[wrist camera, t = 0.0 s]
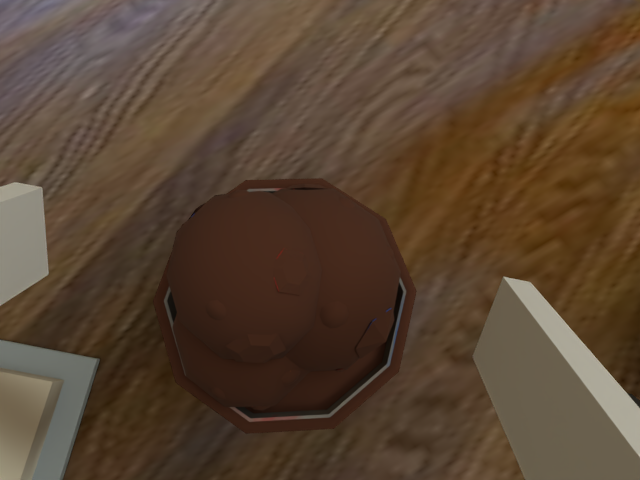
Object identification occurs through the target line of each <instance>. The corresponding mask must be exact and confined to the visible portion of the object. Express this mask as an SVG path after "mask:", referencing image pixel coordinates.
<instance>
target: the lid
mask: <svg viewBox="0 0 640 480" xmlns="http://www.w3.org/2000/svg"><path fill="white" fill-rule="evenodd" d="M63 383H64V380H61V379H56V378H51V377H46V376H41V375H36V374H31V373H26V372H21V371H15V370H10V369H5V368H0V480H32V478H33V475H34V472H35V469H36V466H37V462H38V459H39V456H40V453H41V450H42V447H43V444H44V441H45V438H46V435H47V432H48V429H49V426H50V423H51V420H52V416H53V413H54V410H55V407H56V404H57V401H58V398H59V395H60V392H61V389H62V386H63Z"/></svg>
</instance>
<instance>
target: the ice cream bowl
mask: <svg viewBox="0 0 640 480" xmlns="http://www.w3.org/2000/svg"><path fill="white" fill-rule="evenodd" d="M415 295H416V289H415V287H414V284H413V282H412V279H411V277H410V275H409V272H408V270H407V268H406V265H405V263H404V261H403V258H402V256H401V254H400V251H399V249H398V247H397V244H396V242H395V239H394V237H393V235H392V232H391V230H390V228H389V225H388V223H387V221H386V219H385V218H383V217H382V216H380V215H379V214H377V213H375V212H374V211H372V210H371V209H369V208H368V207H366V206H364V205H363V204H361V203H360V202H358V201H357V200H355V199H353V198H352V197H350V196H349V195H347V194H346V193H344V192H342V191H341V190H339V189H338V188H336V187H335V186H333V185H331V184H330V183H328V182H327V181H325V180H324V179H322V178H321V179H279V180H246V181H244V182H243V183H241V184H240V185H239V186H237V187H236V188H234V189H233V190H231V191H230V192H229V193H227V194H224V195H215V196H214V197H212V198H211V199H210V200H209V201H207V202H206V203H205V204H203V205H201V206H199V207H198V208H196V210H195V211H194V213H193V214H192V215H191V217H190V218H189V220H188V221H187V222H186V223H184V224H183V225H182V226H181V228H180V229H179V230H178V231H177V233H176V237H175V241H174V245H173V250H172V252H171V255H170V258H169V260H168V263H167V266H166V268H165V271H164V274H163V276H162V279H161V282H160V284H159V287H158V290H157V292H156V295H155V297H154V300H153V303H154V306H155V310H156V314H157V317H158V321H159V324H160V328H161V331H162V335H163V339H164V342H165V346H166V349H167V353H168V356H169V360H170V364H171V367H172V371H173V374H174V378H175V381H176V383H177V384H178V385H180V386H181V387H183V388H184V389H185V390H187V391H188V392H189V393H191V394H192V395H194V396H195V397H196V398H198V399H199V400H201V401H202V402H203V403H205V404H206V405H207V406H209V407H210V408H212V409H213V410H214V411H216V412H217V413H218V414H220V415H221V416H223V417H224V418H225V419H227V420H228V421H230V422H231V423H232V424H234V425H235V426H236V427H238V428H239V429H241V430H242V431H243V432H245V433H264V432H282V431H300V430H318V429H334V428H335V427H336V426H337V425H339V424H340V423H341V422H342V421H343V420H344V419H345V418H347V417H348V416H349V415H350V414H351V413H352V412H353V411H355V410H356V409H357V408H358V407H359V406H360V405H361V404H363V403H364V402H365V401H366V400H367V399H368V398H369V397H371V396H372V395H373V394H374V393H375V392H376V391H377V390H379V389H380V388H381V387H382V386H383V385H384V384H385V383H387V382H388V381H389V380H390V379H391V378H392V377H393V376H395V375H396V374H397V373H398V372H399V369H400V364H401V359H402V355H403V350H404V346H405V341H406V337H407V332H408V327H409V323H410V318H411V314H412V309H413V305H414V300H415Z"/></svg>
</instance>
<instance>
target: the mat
mask: <svg viewBox="0 0 640 480" xmlns="http://www.w3.org/2000/svg"><path fill="white" fill-rule="evenodd" d="M99 361H100V359H97V358H92V357H87V356H82V355H77V354H72V353H67V352H62V351H57V350H51V349H46V348H41V347H36V346H31V345H26V344H21V343H16V342H11V341H5V340H0V368H5V369H10V370H15V371H21V372H26V373H31V374H36V375H41V376H46V377H51V378H56V379H61V380H64V383H63V386H62V389H61V392H60V395H59V398H58V401H57V404H56V407H55V410H54V413H53V416H52V420H51V423H50V426H49V429H48V432H47V435H46V438H45V441H44V444H43V447H42V450H41V453H40V456H39V459H38V462H37V466H36V469H35V472H34V475H33V478H32V480H63V477H64V474H65V471H66V467H67V464H68V461H69V458H70V454H71V451H72V448H73V445H74V442H75V438H76V435H77V432H78V429H79V425H80V422H81V419H82V416H83V413H84V409H85V406H86V403H87V400H88V396H89V393H90V390H91V387H92V383H93V380H94V377H95V374H96V371H97V367H98V364H99Z"/></svg>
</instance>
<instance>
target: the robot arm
mask: <svg viewBox="0 0 640 480" xmlns="http://www.w3.org/2000/svg"><path fill="white" fill-rule="evenodd" d="M48 274H49V271H48V258H47V245H46V231H45V218H44V205H43V191H42V187H37V186H32V185H27V184H22V183H16V182H15V183H12V184H8V185H5V186H2V187H0V306H1V305H2V304H4V303H5V302H7V301H8V300H10V299H11V298H13V297H15V296H16V295H18V294H19V293H21V292H22V291H24V290H25V289H27V288H28V287H30V286H32V285H33V284H35V283H36V282H38V281H39V280H41V279H42V278H44V277H45V276H47V275H48ZM473 359H474V362H475V364H476V366H477V368H478V371H479V373H480V375H481V378H482V380H483V382H484V385H485V387H486V389H487V392H488V394H489V396H490V399H491V401H492V403H493V406H494V408H495V410H496V413H497V415H498V417H499V420H500V422H501V424H502V427H503V429H504V431H505V434H506V436H507V438H508V441H509V443H510V445H511V448H512V450H513V452H514V455H515V457H516V459H517V462H518V464H519V466H520V469H521V471H522V473H523V476H524V478H525V480H640V400H638V399H637V398H636V397H634V396H633V395H632V394H628V393H626V392H625V391H624V389H623V388H622V387H621V386H620V385H619V384H618V383H617V381H616V380H615V379H614V378H613V377H612V376H611V374H610V373H609V372H608V371H607V370H606V369H605V368H604V366H603V365H602V364H601V363H600V362H599V361H598V359H597V358H596V357H595V356H594V355H593V354H592V353H591V351H590V350H589V349H588V348H587V347H586V346H585V345H584V343H583V342H582V341H581V340H580V339H579V338H578V336H577V335H576V334H575V333H574V332H573V331H572V330H571V328H570V327H569V326H568V325H567V324H566V323H565V322H564V320H563V319H562V318H561V317H560V316H559V315H558V313H557V312H556V311H555V310H554V309H553V308H552V307H551V305H550V304H549V303H548V302H547V301H546V300H545V299H544V297H543V296H542V295H541V294H540V293H539V292H538V290H537V289H536V288H535V287H534V286H533V285H532V284H531V282H527V281H522V280H517V279H512V278H506V277H503V279H502V281H501V284H500V287H499V289H498V292H497V294H496V297H495V300H494V302H493V305H492V307H491V310H490V313H489V315H488V318H487V320H486V323H485V325H484V328H483V331H482V333H481V336H480V338H479V341H478V344H477V346H476V349H475V351H474V354H473Z"/></svg>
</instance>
